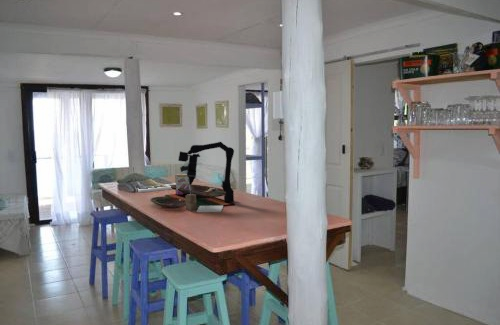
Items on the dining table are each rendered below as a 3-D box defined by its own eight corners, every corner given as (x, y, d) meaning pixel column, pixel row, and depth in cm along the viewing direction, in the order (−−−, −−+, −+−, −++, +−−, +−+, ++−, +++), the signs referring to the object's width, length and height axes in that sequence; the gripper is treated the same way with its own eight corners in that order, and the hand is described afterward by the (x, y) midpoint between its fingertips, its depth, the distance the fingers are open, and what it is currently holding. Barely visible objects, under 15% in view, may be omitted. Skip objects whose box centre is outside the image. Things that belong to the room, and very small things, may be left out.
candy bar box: (175, 194, 315) (174, 174, 313) (177, 193, 320) (176, 173, 318) (189, 194, 314) (188, 174, 312) (190, 193, 319) (190, 173, 317)
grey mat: (223, 206, 268) (223, 205, 267) (221, 211, 252) (221, 210, 252) (200, 206, 268) (200, 205, 268) (196, 212, 252) (196, 211, 252)
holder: (139, 193, 328) (139, 190, 328) (133, 190, 343) (133, 187, 343) (189, 187, 352) (188, 184, 351) (181, 185, 367) (181, 182, 367)
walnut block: (192, 208, 265) (191, 193, 264) (196, 209, 261) (195, 194, 260) (185, 209, 261) (185, 194, 260) (190, 210, 258) (189, 195, 256)
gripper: (182, 160, 286) (179, 180, 287) (180, 162, 268) (178, 184, 269) (197, 161, 288) (194, 182, 289) (197, 164, 269) (194, 186, 271)
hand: (190, 184), depth 279 cm, fingers open, 9 cm apart
